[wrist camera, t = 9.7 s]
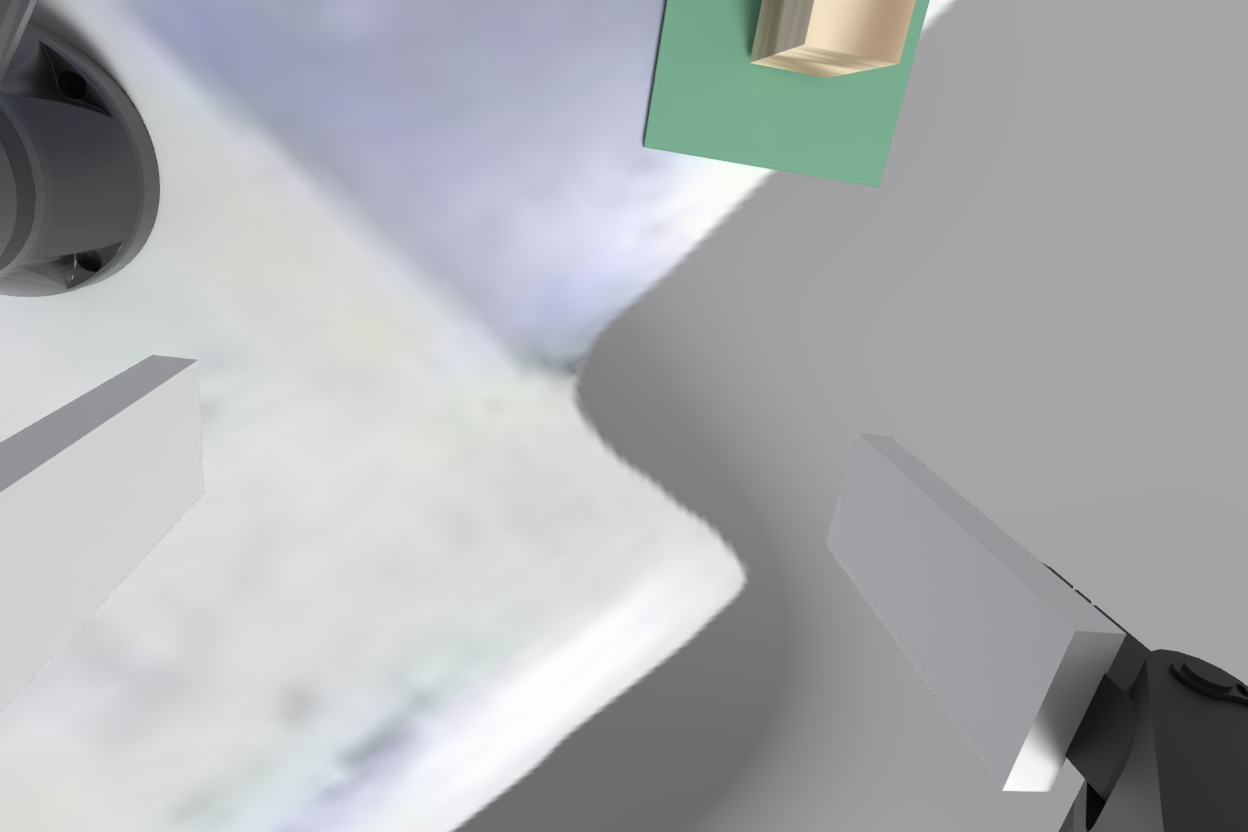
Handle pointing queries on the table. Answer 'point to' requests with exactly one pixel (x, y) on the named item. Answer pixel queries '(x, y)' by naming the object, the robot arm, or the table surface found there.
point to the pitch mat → (769, 99)
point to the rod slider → (831, 35)
